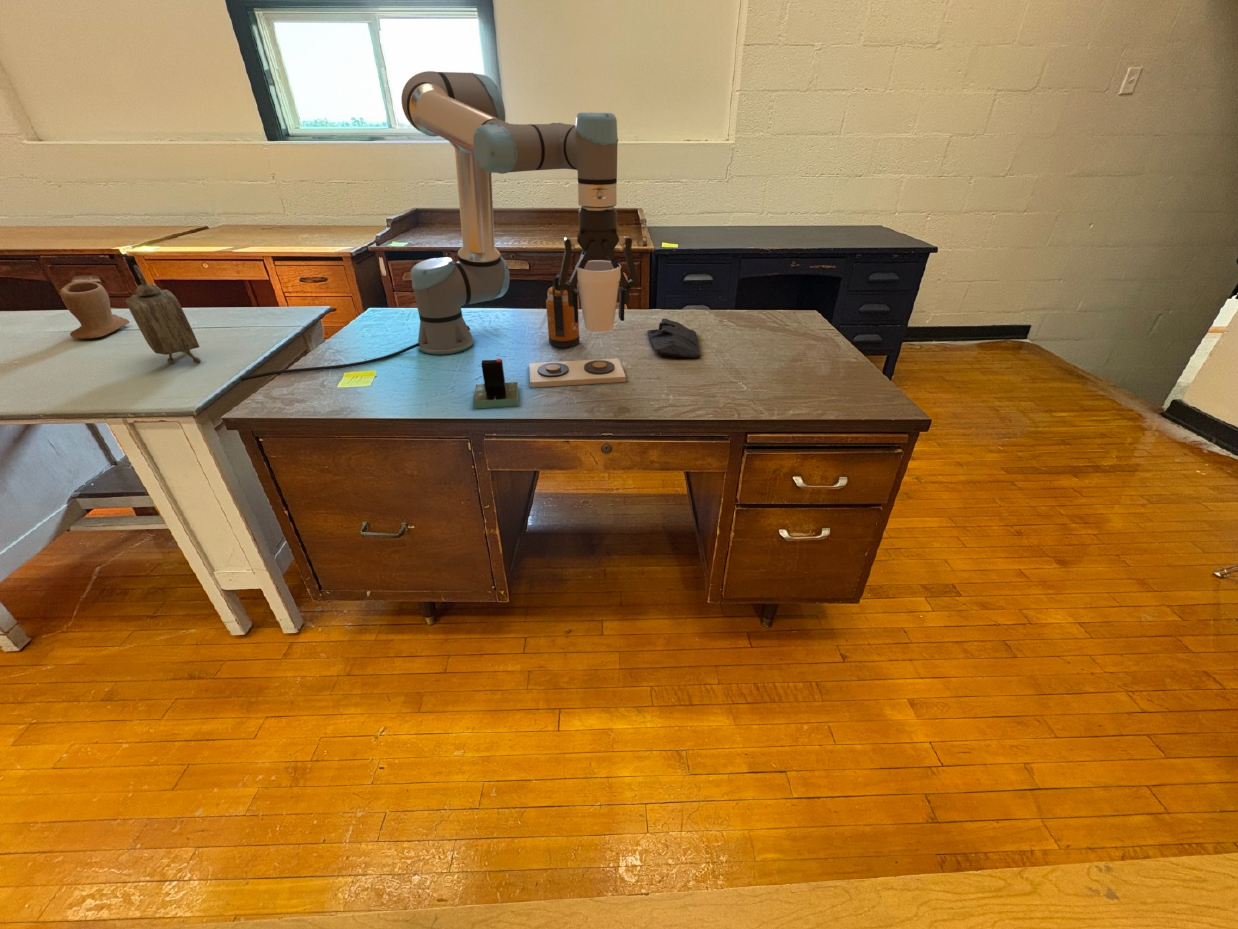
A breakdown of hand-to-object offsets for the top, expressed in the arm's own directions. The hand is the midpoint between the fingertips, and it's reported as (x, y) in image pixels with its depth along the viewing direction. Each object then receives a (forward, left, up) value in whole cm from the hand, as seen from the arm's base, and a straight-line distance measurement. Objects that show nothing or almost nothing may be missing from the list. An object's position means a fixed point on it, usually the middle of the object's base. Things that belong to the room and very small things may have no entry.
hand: (598, 319), depth 114 cm
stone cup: (-144, +65, -19) cm, 159 cm away
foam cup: (0, 0, -2) cm, 2 cm away
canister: (-6, +36, -19) cm, 41 cm away
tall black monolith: (-24, +3, -17) cm, 30 cm away
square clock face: (-24, +3, -19) cm, 31 cm away
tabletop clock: (-110, +38, -19) cm, 118 cm away
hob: (-4, +14, -19) cm, 24 cm away
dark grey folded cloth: (+26, +31, -19) cm, 44 cm away
